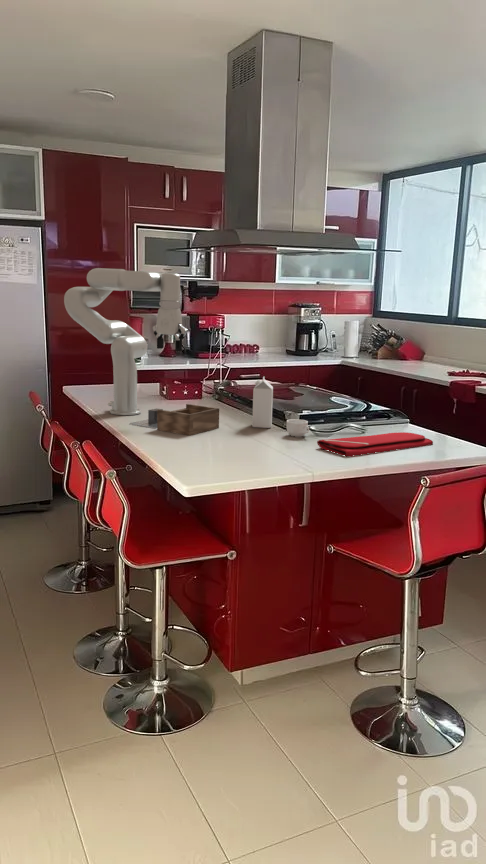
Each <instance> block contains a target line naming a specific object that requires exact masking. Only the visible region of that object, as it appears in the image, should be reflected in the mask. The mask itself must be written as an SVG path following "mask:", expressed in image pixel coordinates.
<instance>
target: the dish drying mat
mask: <svg viewBox="0 0 486 864" xmlns="http://www.w3.org/2000/svg"><path fill="white" fill-rule="evenodd" d="M316 443H317V446H318V447H319V448H320V449H321V450H323V449H325V450H329V451H332V452H335V453H338V454H341V455H345V456H351V457H354V456H353V455H359V456H362V455H361V454H366V455H368V454H367V453H373V454H376V453H375V452H380V453H385V452H384V451H387V452H391V451H390V450H394V451H397V450H396V449H400V450H406V449H405V448H407V449H412V448H418V447H424V446H431V445H433V443H434V441H433V440H432V439H429V438H426V437H425V435H423V434H419V433H413V432H406V431H405V432H403V431H402V432H400V431H399V432H387V433H381V434H373V435H363V436H352V437H341V438H340V437H339V438H330V439H319V440H317V442H316ZM325 450H324V451H325ZM332 452H331V453H332ZM335 453H334V454H335ZM338 454H337V455H338ZM341 455H340V456H341Z"/></svg>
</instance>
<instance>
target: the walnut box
mask: <svg viewBox="0 0 486 864" xmlns="http://www.w3.org/2000/svg"><path fill="white" fill-rule="evenodd" d="M219 428H220V408H218V407H212V406H205V405H204V406H203V405H198V404H191V403H190V404H189V403H186V404H185V408H180V409H175V410H166V409H165V410H164V409H163V410H157V428H156V429H157V430H156V431H162V432H168V433H173V434H177V435H178V434H179V435H185V436H193V435H196V434H201V433H205V432H210V431H213V430H216V429H217V430H218V429H219Z"/></svg>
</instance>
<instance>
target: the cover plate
mask: <svg viewBox="0 0 486 864" xmlns="http://www.w3.org/2000/svg"><path fill="white" fill-rule="evenodd" d="M157 410H164V409H163V408H152V409H148V410H147V411H148V412H147V413H148V415H147V417H148V419H144V420H139V421H133V422H130V423H129V425H130V424H132V426H136V425H137V427H142V426H143V427H144V428H148V429H157Z"/></svg>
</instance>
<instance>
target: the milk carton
mask: <svg viewBox="0 0 486 864" xmlns="http://www.w3.org/2000/svg"><path fill="white" fill-rule="evenodd" d="M265 377H266V376H264V375H263V377H262V380H260V379H257V381H255V382H254V384H255V386H254V387H253V391H252V392H253V393H252V394H253V395H252V420H251V421H252V422H251V424H252V425H251V426H252V428H261V429H262V428H264V429H267V428H268V429H271V428H272V424H273V405H274V404H273V401H274V386H273V385H271V383H270V382H269V381H267V380H266V379H265Z"/></svg>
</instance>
